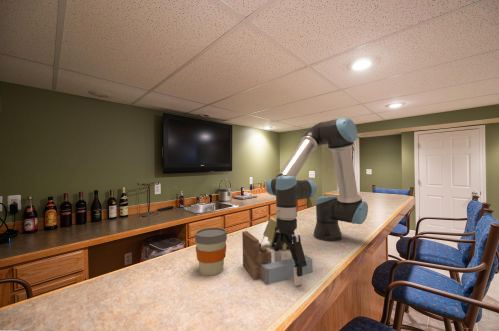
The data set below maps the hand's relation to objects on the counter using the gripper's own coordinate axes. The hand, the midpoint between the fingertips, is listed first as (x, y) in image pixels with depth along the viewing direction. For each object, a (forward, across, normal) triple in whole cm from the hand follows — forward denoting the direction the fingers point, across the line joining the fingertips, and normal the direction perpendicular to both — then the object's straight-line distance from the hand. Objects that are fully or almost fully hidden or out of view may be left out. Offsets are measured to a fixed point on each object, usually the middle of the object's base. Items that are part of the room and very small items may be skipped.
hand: (287, 275), depth 78 cm
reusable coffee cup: (0, -16, -25) cm, 30 cm away
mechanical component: (0, -25, +13) cm, 28 cm away
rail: (0, 0, 0) cm, 0 cm away
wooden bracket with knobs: (0, -8, -8) cm, 11 cm away
